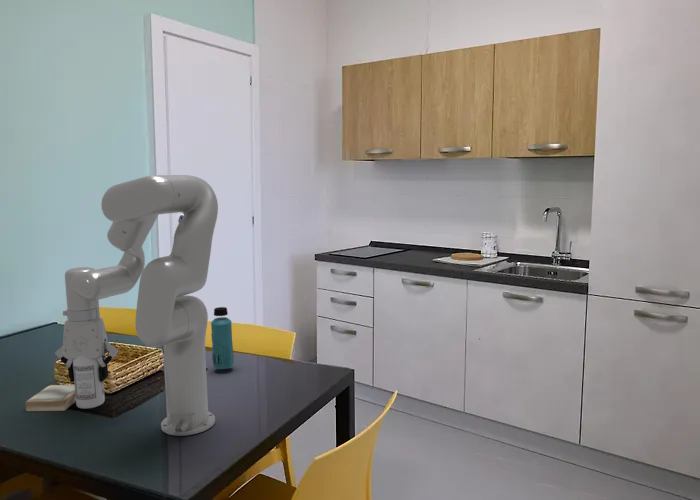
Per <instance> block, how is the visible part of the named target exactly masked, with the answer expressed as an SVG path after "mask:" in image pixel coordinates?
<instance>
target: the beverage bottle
mask: <svg viewBox="0 0 700 500" xmlns="http://www.w3.org/2000/svg"><path fill="white" fill-rule="evenodd" d="M228 313H229V312H228V308H227V307H226V306H220V307H219V306H218V307H214V309H213V316H215V318H214V319H212V320H211V322H210V325H211V328H210V329H211V335H210V336H211V344H212V345H211V347H212V348H211V350H212V366H213V368H214V369H217V370H226V369H230V368H232V367H233V366H234V364H235V363H234V362H235V360H234V347H233V346H234V343H233V331H232V330H233V328H232V320H231V319H230V318H229V317H226V316H227V315H229V314H228Z"/></svg>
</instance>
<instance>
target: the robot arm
mask: <svg viewBox="0 0 700 500" xmlns="http://www.w3.org/2000/svg"><path fill="white" fill-rule="evenodd" d="M217 198H218V197H217V195H216V193H215V191H214V189H213V187H212V186H211V184H209V182H208V181H206V180H204V179H202V178H201V177H198V176H194V175H189V174H188V175H187V174H186V175H185V174H174V175H173V174H169V175H168V174H167V175H165V174H163V175H162V174H161V175H160V174H158V175H157V174H156V175H155V174H153V175H148V176H143V177H139V178H136V179H132V180H128V181H125V182H120V183H117V184H114V185H112V186H110V187H109V188H108V189H107V190H106V191H105V193H104V194H103V196H102V198H101V203H100V204H101V211H102V214H103V215H104V217H105V218H106V219H107V220H109V221H111V222H112V223H111V225H110V227H109V229H108V231H107V234H106V236H107V240H108V241H109V243H110V244H111V245H112V246H113V247H114V248H116V249H117V250H119V251H121V252H123V255H122V257H121V259H120V261H119V262H118V264H117V265H115V266H114V265H112V266H108V267H103V268H98V269H95V268H94V267H89V266H81V267H80V266H78V267H73V268H69V269H67V270H66V271H65V272H64V284H65V296H66V298H65V299H66V307H67V308H66V310H63V312H62V316H63V317H66V319H67V320H65V321H64V325H63V326H64V327H63V335H62V345H61V346H60V347H59V348H58V349H57V350H56V351H55V352H54V355H56V357H57V358H58V359H60V361H61V362H62V363H63V364H64V365H65V368H67V370H68V378H69V382H70V383H74V371H73V359H77V358H78V357H80V356H84V357H86V358H88V359H97V361H98V362H99V364H100V367H99V381H100V382H104V381H106V380H107V379H108V376H109V366H108V364H109V363H111V362H112V360H113V359H114V357H115V356H116V355H117V354H118V353H119V349H117V348H116V347H115V346H114V345H112V344H111V343H110V342H108V336H107V335H108V334H107V332H106V331H107V330H106V326H105V323H104V320H103V318H102V317H101V313H100V303H99V300H103V299H107V298H110V297H114V296H118V295H122V294H123V295H124V294H126V293H128V292H130V291H131V290H132V289H134V287H135V286H136V284H137V283H139V285H138V295H137V301H136V312H135V322H134V325H135V331H136V334H137V337H138V339H139V340H140V342H141V343H143V344H144V345H145V346H147V347H152V348H158V347H162V346H165V347H164V351H163V352H164V354H163V363H164V364H163V365H164V381H165V383H164V384H165V396H166V397H165V398H166V399H165V401H166V414H167V417H164V418H163V420H162V421H161V422H160V429H161V431H162V432H163V433H165V434H167V435H169V436H174V437H175V436H176V437H177V436H179V437H181V436H182V437H183V436H191V435H197V434H199V433H202V432H206V431H207V430H210V428H212V427H213V426H215V425H214V424H215V423H216V417H215V415H214V413H212V412H211V411H209V402H208V384H207V383H208V382H207V381H208V380H207V364H206V362H207V361H206V359H207V358H206V336H207V328H208V321H209V320H208V319H209V316H208V309H207V306H206V305H205V303H204V301H202V300H201V299H200V298H198V297H196V296H194V295H189V294H193V293H196V292H198V291H200V290H202V289H203V288H204V287H205V285H206V282H207V278H208V272H209V267H210V266H209V265H210V258H211V252H212V245H213V236H214V232H215V227H216V224H217V220H218V219H217V218H218V212H219V204H218V199H217ZM177 213H183V217H182V218H181V220H180V221H179V222H178V224H177V227H176V228H175V231H174V235H173V243H172V249H171V251H170V252H171V253H170V254H169V255H166V256H162V257H158V258H155V259H152V260H151V261H149V262H148V263H147V264H146V265H145V262H146V261H145V259H146V258H145V257H146V256H145V251H144V249H143V246H144V243H145V241H146V239H147V237H148V235H149V234H150V232H151V230H152V228H153V226H154V224H155V222H156V220H157V219H158V216H159V215H163V214H164V215H165V214H167V215H168V214H177ZM138 281H139V282H138ZM108 352H109V354H108V356H107V355H106V354H107V353H108Z"/></svg>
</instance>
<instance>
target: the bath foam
mask: <svg viewBox="0 0 700 500" xmlns="http://www.w3.org/2000/svg"><path fill="white" fill-rule="evenodd" d="M99 367H100V364H99V362H98V361H97V359H88V358H86V357H84V356H80V357H78V358H77V359H73V371H74V382H73V383H74V384H73V385H75V396H76V402H75V404H76V407H77V408H79V409H94V408H96V407H99V406H101V405H103V404H104V402H105V400H106V397H105V383H104V381H103V382H100V381H99Z"/></svg>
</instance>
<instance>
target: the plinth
mask: <svg viewBox="0 0 700 500" xmlns="http://www.w3.org/2000/svg"><path fill="white" fill-rule="evenodd" d="M75 403H76V396H75V384H50V385H48V386H46V387H45V388H43V389H42V390H40V391H39V392H37V393H36V394H34V395H33V396H32V397H31V398H29V399H27V400H26V401H25V402H24V404H25V412H45V411H46V412H53V411H54V412H58V411H59V412H60V411H61V412H64V411H66V410H67V409H68V408H70V407H71V406H72V405H73V404H75Z"/></svg>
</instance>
